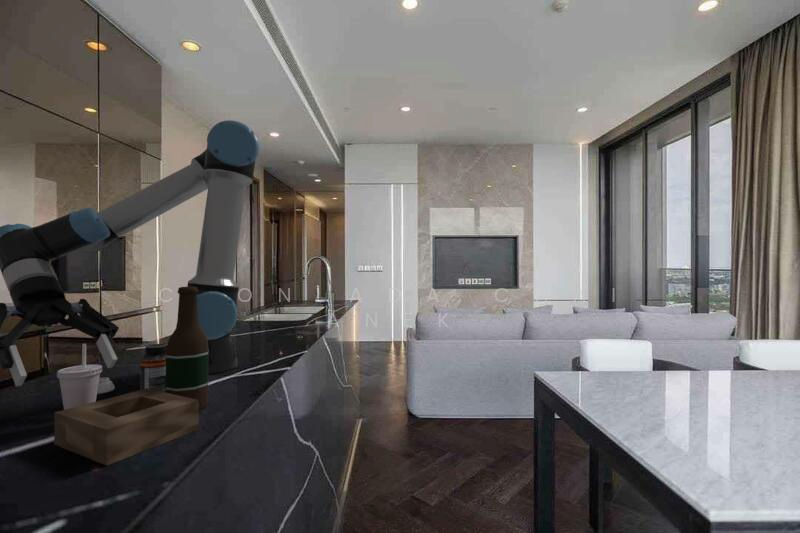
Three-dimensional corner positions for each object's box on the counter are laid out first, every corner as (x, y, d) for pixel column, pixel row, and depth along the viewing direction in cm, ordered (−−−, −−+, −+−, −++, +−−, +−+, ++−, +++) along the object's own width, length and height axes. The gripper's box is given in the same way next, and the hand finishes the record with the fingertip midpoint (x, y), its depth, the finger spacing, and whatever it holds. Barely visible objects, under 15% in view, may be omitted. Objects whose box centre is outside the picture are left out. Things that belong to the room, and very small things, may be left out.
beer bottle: (178, 401, 81) (179, 286, 82) (216, 401, 82) (216, 286, 82) (156, 415, 74) (156, 287, 74) (197, 414, 74) (197, 287, 74)
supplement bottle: (143, 395, 85) (143, 343, 86) (174, 392, 88) (174, 341, 88) (136, 404, 80) (136, 348, 80) (170, 400, 82) (170, 346, 82)
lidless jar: (81, 396, 86) (106, 395, 87) (81, 382, 86) (106, 381, 87) (95, 389, 91) (119, 388, 92) (95, 376, 91) (119, 375, 92)
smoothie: (105, 422, 70) (105, 344, 71) (57, 432, 66) (58, 349, 66) (99, 413, 75) (99, 339, 75) (54, 422, 70) (55, 344, 70)
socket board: (146, 415, 74) (146, 388, 74) (198, 429, 67) (198, 399, 67) (54, 444, 61) (54, 412, 61) (106, 465, 54) (107, 429, 54)
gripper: (99, 296, 90) (135, 369, 83) (-65, 304, 68) (-35, 404, 61) (112, 273, 88) (150, 346, 81) (-54, 274, 66) (-21, 374, 59)
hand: (71, 371), depth 71 cm, fingers open, 13 cm apart
